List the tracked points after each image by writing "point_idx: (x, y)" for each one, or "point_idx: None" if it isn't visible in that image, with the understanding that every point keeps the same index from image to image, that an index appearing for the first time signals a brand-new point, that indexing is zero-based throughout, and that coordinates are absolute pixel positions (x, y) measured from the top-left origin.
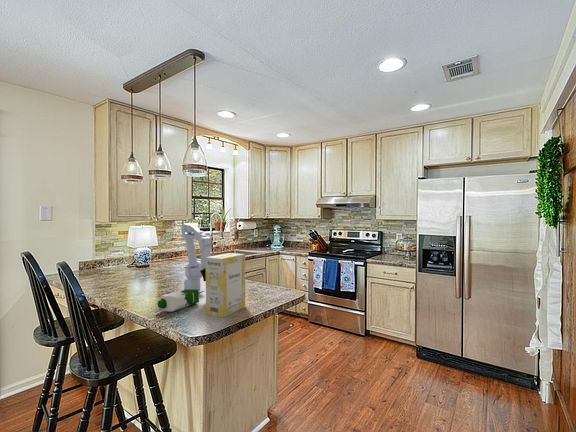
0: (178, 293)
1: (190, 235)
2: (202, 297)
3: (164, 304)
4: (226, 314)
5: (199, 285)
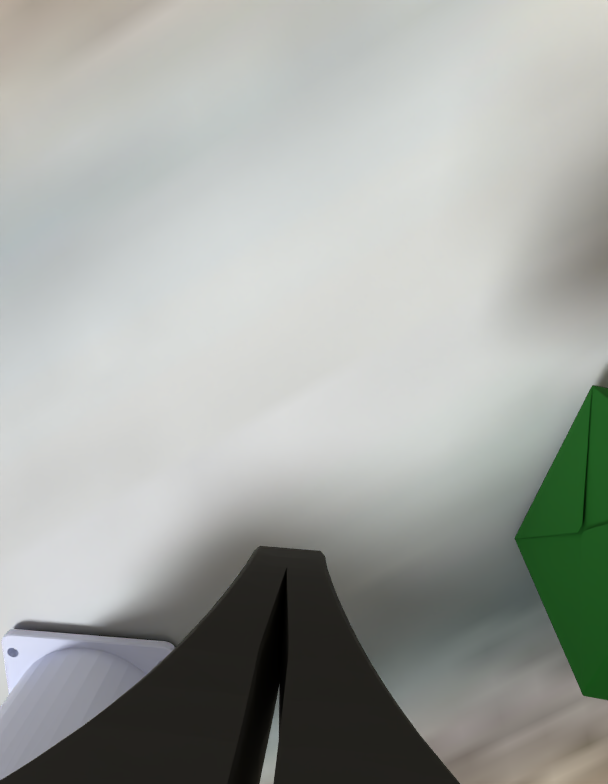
0: None
1: None
2: (266, 498)
3: None
4: None
5: (33, 727)
